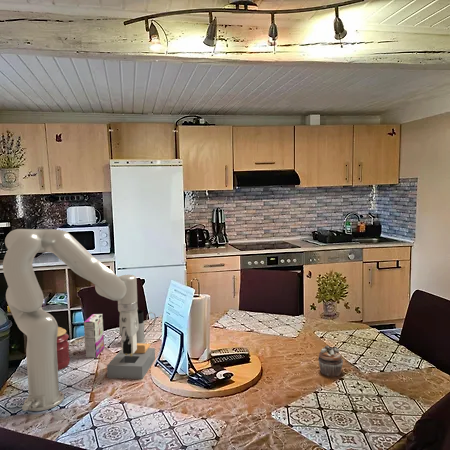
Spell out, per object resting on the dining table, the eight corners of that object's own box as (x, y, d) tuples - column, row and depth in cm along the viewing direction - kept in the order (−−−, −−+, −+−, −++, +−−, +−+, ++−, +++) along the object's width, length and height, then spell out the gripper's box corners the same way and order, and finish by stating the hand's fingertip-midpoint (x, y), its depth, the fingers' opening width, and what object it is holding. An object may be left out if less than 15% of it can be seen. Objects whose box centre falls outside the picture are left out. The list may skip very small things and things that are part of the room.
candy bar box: (93, 348, 186) (92, 313, 185) (104, 348, 186) (103, 313, 185) (84, 358, 175) (83, 321, 173) (96, 358, 175) (94, 321, 173)
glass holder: (125, 340, 195) (124, 310, 193) (153, 336, 201) (153, 306, 199) (128, 347, 187) (127, 315, 185) (158, 342, 193) (157, 311, 191)
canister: (57, 374, 160) (55, 331, 159) (29, 371, 163) (26, 329, 161) (76, 360, 173) (74, 320, 171) (49, 358, 175) (47, 319, 174)
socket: (142, 378, 155) (142, 366, 154) (107, 377, 156) (107, 365, 156) (155, 359, 173) (154, 348, 172) (123, 358, 174) (123, 347, 174)
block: (133, 357, 158) (132, 333, 158) (122, 357, 159) (121, 333, 158) (137, 352, 163) (136, 329, 162) (126, 352, 163) (125, 329, 163)
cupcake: (315, 374, 157) (315, 349, 156) (321, 364, 165) (321, 341, 164) (340, 379, 152) (340, 354, 151) (345, 369, 161) (345, 345, 160)
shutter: (144, 353, 167) (144, 345, 166) (124, 352, 168) (124, 344, 167) (150, 345, 175) (150, 338, 175) (130, 344, 176) (130, 337, 176)
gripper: (130, 312, 150) (131, 359, 152) (143, 300, 167) (144, 342, 169) (110, 312, 151) (112, 359, 153) (125, 300, 168) (127, 342, 170)
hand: (129, 350), depth 161 cm, fingers closed on block, 4 cm apart
